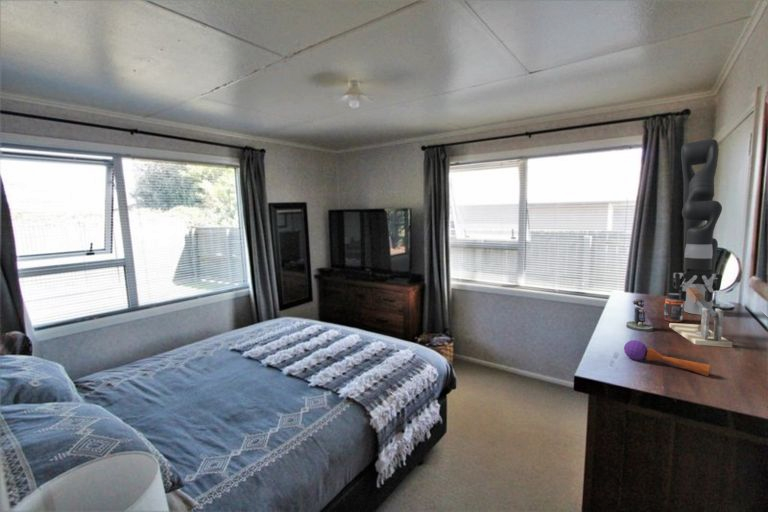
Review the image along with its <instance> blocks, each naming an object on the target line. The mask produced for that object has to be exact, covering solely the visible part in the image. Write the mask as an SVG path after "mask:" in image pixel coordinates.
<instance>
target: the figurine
mask: <svg viewBox="0 0 768 512" xmlns="http://www.w3.org/2000/svg"><path fill="white" fill-rule="evenodd" d="M632 303H633V305H634V315H633V317H634V319H633V320H634V321H633V320H629V321H627V322H626V325H625V326H626V328H627V329H628V330H629V329H630V330H632V331H638V332H643V333H644V332H645V333H646V332H652V331H654V325H652V324H651V323H647V322H646V313H648V312H647V311H648V310H647V309H646V306H645V300H644V299H642V298H641V297H638V298H636V299H634V300H633V301H632Z"/></svg>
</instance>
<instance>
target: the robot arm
mask: <svg viewBox="0 0 768 512" xmlns="http://www.w3.org/2000/svg"><path fill="white" fill-rule="evenodd" d="M680 153H681V154H680V157H681V158H680V159H681V167H682V176H683V203H682V204H683V208H682V210H681V215H682V217H683V219H684V237H683V254H684V259H683V261H684V262H683V270H682V272H673V273H672V286H673V288H674V289H676V290H678V291H679V292H678V294H679V298H680V299H681V300H682V301H683V312H685V313H689V314H692V315H699V316H701V315H700V314H699V313H698V311H699V308H700V306H699V305H698V304H697V303H695V302H694V301H693V300H692V299H691V298H690V296H689V295H688V294H687V289H688V287H692V288H697V289H698V291H699V292H700V293H701V294H702V295H703V296H704V297H705V299H704V300H705V301H706V302H707V303H708V304H709V305H710V306H711V308H712V309H713V301H714V300H713V299H714V292H716V291H720V290H721V285H722V279H723V275H722V274H720V273H717V272H716V263H717V262H716V261H717V254H718V248H719V246H718V245H719V244H718V241H717V239H716V238H714V231H715V228H716V224H717V222H718V220H719V218H720V216H721V214H722V210H723V206H722V204H721V203H720V202H719V201H718V200H714V197H715V176H716V171H717V166H718V161H719V153H720V152H719V142H718V141H717V139H715V138H710V139H704V140H696V141H691V142H690V141H689V142H686V143H684V144H683V145H682V146H681V150H680ZM698 165H703V166H702V167H701V169H699V170H698V171H697V172H696V173H695V170H694V169H693V166H698ZM705 221H706V223H705V224H703V225H702V223H703V222H705ZM682 277H683V278H684V280H683V281H682V283H681V279H682Z"/></svg>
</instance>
